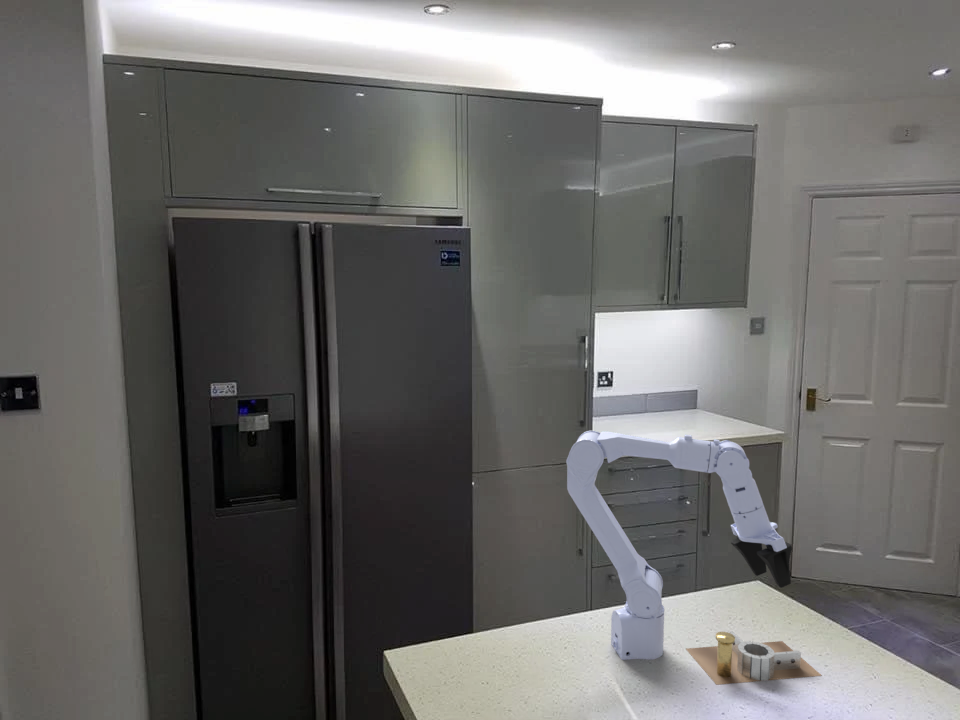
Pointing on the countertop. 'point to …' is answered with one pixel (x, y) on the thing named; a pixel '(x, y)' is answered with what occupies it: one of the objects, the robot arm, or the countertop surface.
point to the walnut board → (709, 662)
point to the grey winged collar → (762, 659)
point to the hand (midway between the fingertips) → (772, 579)
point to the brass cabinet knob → (724, 653)
